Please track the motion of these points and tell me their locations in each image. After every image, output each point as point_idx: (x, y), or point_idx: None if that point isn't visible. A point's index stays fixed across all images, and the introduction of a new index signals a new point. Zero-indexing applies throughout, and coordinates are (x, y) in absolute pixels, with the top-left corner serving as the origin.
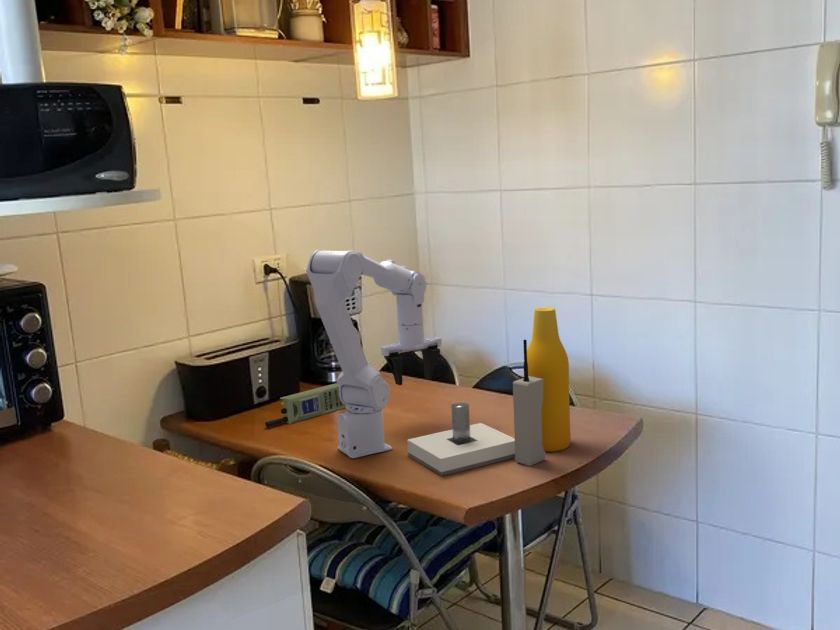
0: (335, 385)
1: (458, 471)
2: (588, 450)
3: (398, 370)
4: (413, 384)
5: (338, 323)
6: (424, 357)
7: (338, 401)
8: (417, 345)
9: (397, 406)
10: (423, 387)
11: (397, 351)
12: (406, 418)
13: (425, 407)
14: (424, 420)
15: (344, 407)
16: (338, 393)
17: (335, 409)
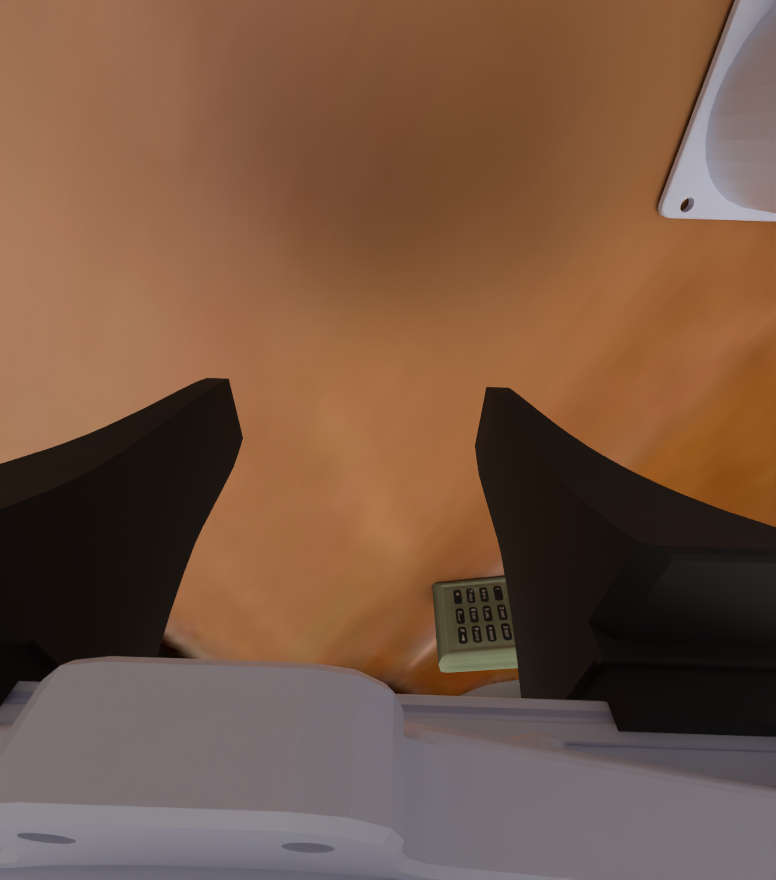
0: (507, 657)
1: None
2: None
3: (585, 453)
4: (208, 624)
5: None
6: (159, 581)
7: (493, 601)
8: (283, 835)
9: (329, 518)
10: (189, 598)
11: (613, 737)
12: (365, 402)
13: (247, 463)
14: (313, 335)
15: (470, 581)
16: (496, 626)
17: (503, 579)
